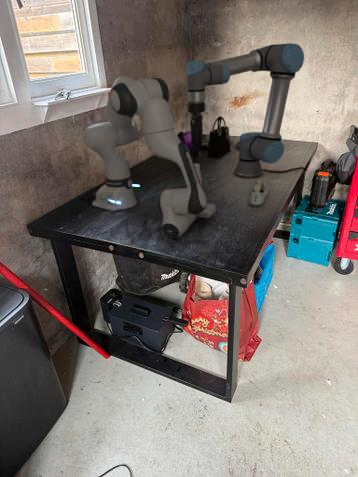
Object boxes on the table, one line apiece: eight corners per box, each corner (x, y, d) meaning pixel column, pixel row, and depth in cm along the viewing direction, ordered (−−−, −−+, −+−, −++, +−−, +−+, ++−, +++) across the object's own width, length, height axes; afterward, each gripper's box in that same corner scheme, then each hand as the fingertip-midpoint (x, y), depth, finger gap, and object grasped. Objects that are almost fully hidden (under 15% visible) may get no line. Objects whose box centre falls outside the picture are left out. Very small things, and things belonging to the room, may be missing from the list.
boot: (194, 157, 223) (193, 127, 213) (188, 169, 203) (187, 135, 193) (182, 157, 225) (180, 127, 215) (174, 168, 205) (172, 136, 194)
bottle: (199, 210, 151) (198, 162, 139) (204, 214, 147) (203, 164, 136) (191, 212, 149) (189, 163, 138) (195, 216, 146) (193, 166, 134)
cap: (194, 157, 150) (194, 152, 149) (191, 155, 154) (191, 150, 152) (203, 156, 151) (203, 151, 150) (199, 154, 154) (199, 149, 153)
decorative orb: (204, 151, 235) (204, 129, 228) (194, 156, 225) (193, 134, 217) (186, 149, 243) (186, 128, 235) (175, 154, 232) (174, 132, 224)
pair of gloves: (199, 151, 237) (198, 143, 234) (184, 143, 257) (184, 136, 255) (235, 144, 246) (235, 137, 244) (218, 138, 267) (218, 131, 264)
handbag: (218, 159, 217) (218, 119, 204) (206, 157, 221) (205, 119, 209) (231, 151, 232) (232, 114, 219) (219, 150, 236) (220, 113, 224)
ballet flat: (269, 188, 169) (270, 173, 165) (265, 208, 149) (266, 191, 145) (252, 187, 171) (253, 172, 167) (246, 206, 151) (247, 190, 147)
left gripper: (210, 209, 130) (220, 196, 141) (163, 203, 137) (176, 191, 148) (210, 223, 133) (220, 209, 144) (164, 217, 140) (177, 204, 151)
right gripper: (193, 99, 149) (194, 150, 160) (182, 105, 135) (184, 161, 146) (209, 99, 147) (209, 151, 158) (200, 105, 133) (200, 161, 144)
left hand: (197, 200), depth 146 cm, fingers closed on bottle, 4 cm apart
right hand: (197, 156), depth 152 cm, fingers closed on cap, 4 cm apart
